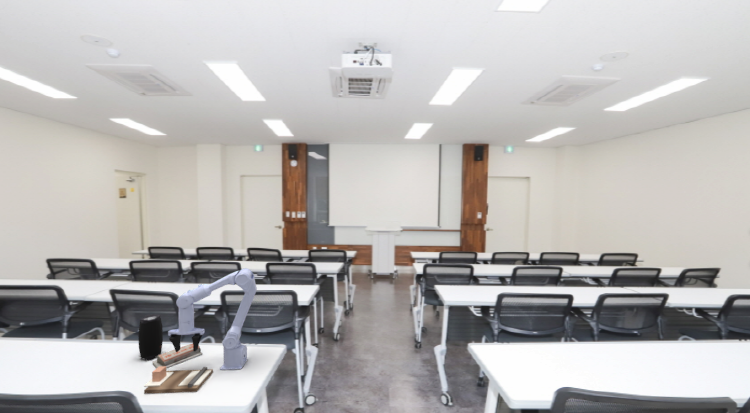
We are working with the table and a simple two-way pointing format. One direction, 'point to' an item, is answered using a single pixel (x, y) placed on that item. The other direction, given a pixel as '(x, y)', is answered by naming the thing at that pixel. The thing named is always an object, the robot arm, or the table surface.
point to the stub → (158, 376)
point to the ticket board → (182, 381)
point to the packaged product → (177, 356)
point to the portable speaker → (150, 337)
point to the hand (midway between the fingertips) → (186, 350)
